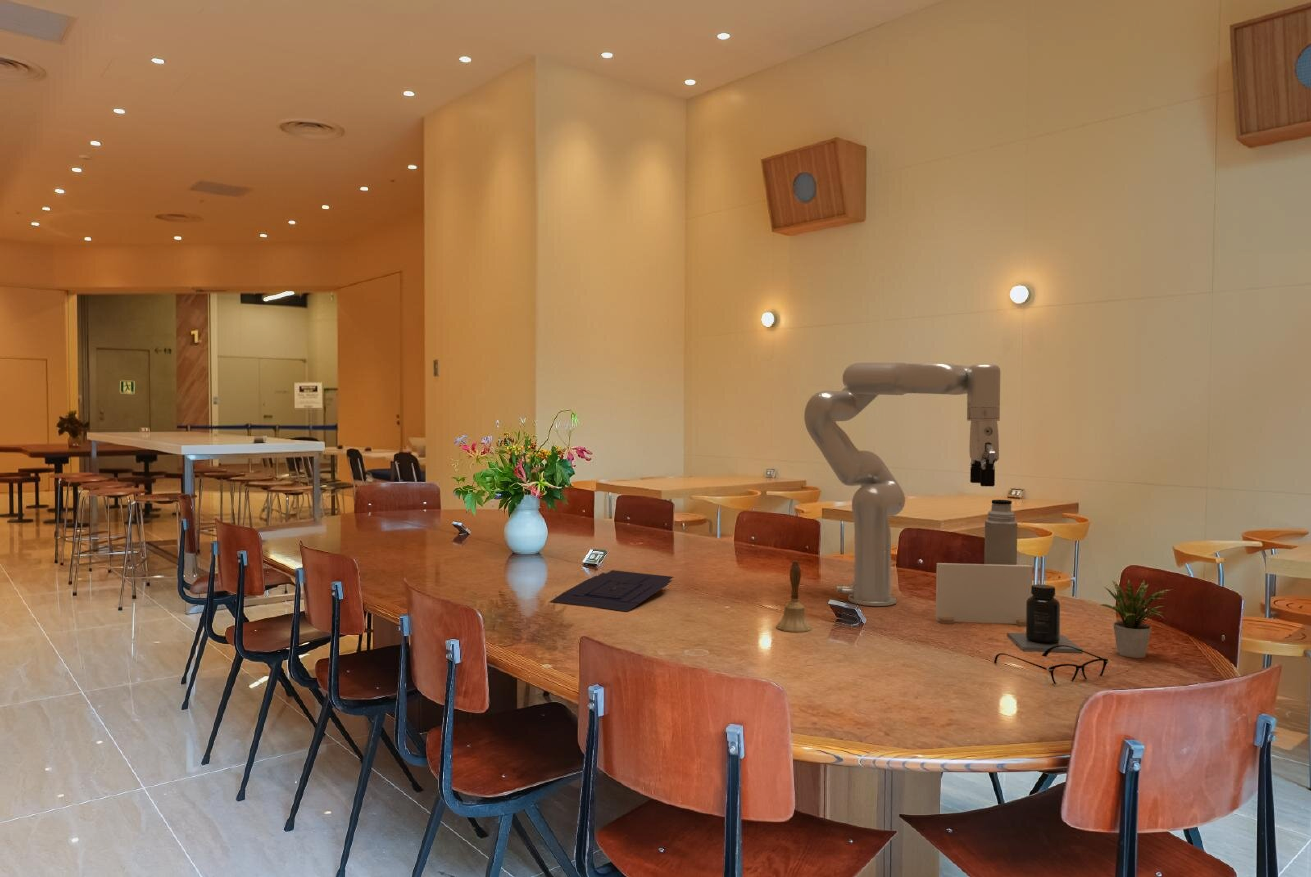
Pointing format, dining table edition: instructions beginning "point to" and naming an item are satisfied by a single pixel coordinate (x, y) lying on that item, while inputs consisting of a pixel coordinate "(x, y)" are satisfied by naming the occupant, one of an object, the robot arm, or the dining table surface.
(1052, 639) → the supplement bottle
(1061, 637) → the pad
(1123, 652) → the house plant
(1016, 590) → the screen
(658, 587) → the black flat stepped slab
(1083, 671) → the eyeglasses
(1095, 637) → the dining table surface
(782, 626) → the hand bell
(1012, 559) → the thermos bottle
